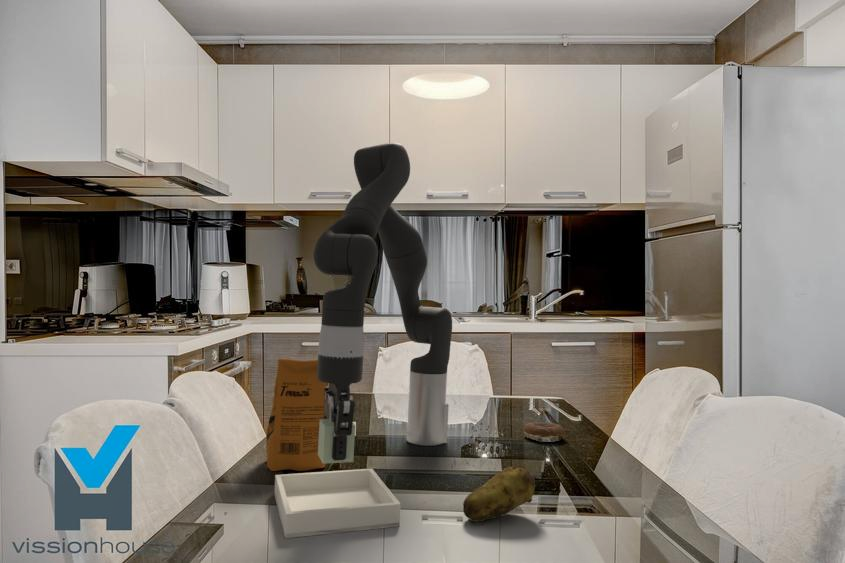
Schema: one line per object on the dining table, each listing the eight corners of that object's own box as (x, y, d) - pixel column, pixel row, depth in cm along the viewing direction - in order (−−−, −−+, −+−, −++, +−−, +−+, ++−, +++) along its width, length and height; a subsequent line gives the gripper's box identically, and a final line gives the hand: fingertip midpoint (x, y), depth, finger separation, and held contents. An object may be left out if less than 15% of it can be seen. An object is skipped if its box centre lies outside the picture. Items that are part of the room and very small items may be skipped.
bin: (371, 487, 104) (372, 468, 104) (399, 526, 87) (400, 503, 87) (274, 494, 98) (275, 474, 98) (285, 538, 81) (286, 514, 81)
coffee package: (265, 457, 118) (271, 354, 119) (324, 456, 121) (329, 355, 122) (263, 473, 109) (269, 360, 109) (328, 471, 112) (333, 362, 112)
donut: (548, 447, 138) (548, 431, 138) (514, 437, 146) (515, 422, 146) (572, 441, 145) (573, 425, 145) (539, 432, 153) (539, 417, 153)
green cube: (346, 453, 96) (348, 418, 96) (353, 461, 91) (355, 425, 91) (317, 454, 94) (319, 419, 94) (322, 463, 89) (324, 426, 89)
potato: (454, 508, 96) (456, 461, 96) (525, 506, 98) (527, 461, 98) (466, 528, 88) (468, 477, 88) (543, 527, 90) (545, 477, 90)
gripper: (373, 358, 87) (367, 466, 87) (353, 348, 101) (348, 442, 101) (326, 357, 85) (320, 469, 85) (311, 347, 98) (306, 443, 98)
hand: (335, 454), depth 93 cm, fingers closed on green cube, 5 cm apart
